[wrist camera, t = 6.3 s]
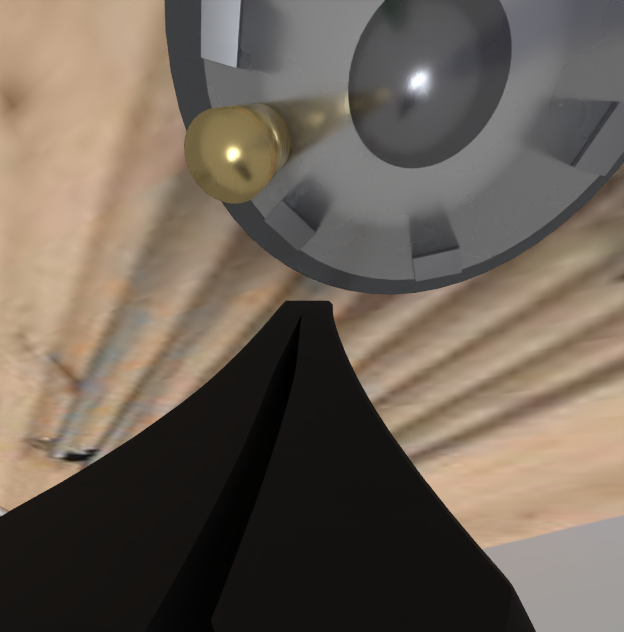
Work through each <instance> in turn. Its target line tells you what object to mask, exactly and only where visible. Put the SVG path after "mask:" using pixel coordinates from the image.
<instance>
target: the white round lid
mask: <svg viewBox="0 0 624 632" xmlns="http://www.w3.org/2000/svg"><path fill="white" fill-rule="evenodd" d="M7 512H9V511H8V510H6V509H4V508H2V507H0V516H2V515H4V514H5V513H7Z"/></svg>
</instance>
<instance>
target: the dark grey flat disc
mask: <svg viewBox="0 0 624 632" xmlns="http://www.w3.org/2000/svg"><path fill="white" fill-rule="evenodd" d="M165 25H166V37H167V45H168V52H169V60H170V68H171V74H172V79H173V83H174V87H175V92H176V96H177V101H178V105H179V109H180V113H181V116H182V119H183V122H184V125H185V128H186V131H187V130H188V128H189V126H190V124H191V122H192V121H193V120H194V119H195V117H196V116H198V115H199V114H200V113H202V112H204V111H206V110H208V109H211V108H212V107H211V103H210V99H209V95H208V89H207V81H206V74H205V66H204V59H203V58H201V0H165ZM623 162H624V152H623V153H622V155H621V156H620V157H619V159H618V160H617V161H616V162H615V164H614V165H613V166H612V168H611V169H610V170H609V172H608V173H607V174H606V176H603V175H599V177H598V178H597V179H596V180H595V181H594V182H593V183H592V184H591V185H590V186H589V187H588V188H587V189H586V190H585V191H584V192H583V193H582V194H581V195H580V196H579V197H578V198H577V199H576V200H575V201H574V202H572V203H571V204H570V205H569V206H568V207H567V208H566V209H564V210H563V211H562V212H561V213H560V214H559V215H557V216H556V217H555V218H554V219H553V220H551V221H550V222H549V223H547V224H546V225H545V226H543V227H542V228H540V229H539V230H538V231H536V232H535V233H534V234H532V235H531V236H529V237H528V238H526V239H524V240H523V241H521V242H519V243H518V244H516V245H514V246H513V247H511V248H509V249H508V250H506V251H504V252H502V253H500V254H498V255H496V256H494V257H492V258H489V259H487V260H485V261H483V262H481V263H478V264H475V265H473V266H470V267H467V268H464V269H462V273H457V274H452V275H447V276H442V277H437V278H432V279H427V280H422V281H417V282H416V281H415V279H407V280H388V279H375V278H369V277H364V276H359V275H354V274H351V273H348V272H344V271H341V270H338V269H335V268H333V267H331V266H328V265H326V264H324V263H322V262H320V261H318V260H316V259H314V258H312V257H311V256H309V255H308V254H306V253H304V252H303V251H301V250H299V251H297V250H296V249H295V248H294V247H293V246H292V245H291V244H290V243H289V242H287V241H286V240H285V239H284V238H283V237H282V236H281V235H280V234H279V233H277V232H276V231H275V230H274V229H273V228H272V227H271V226H270V225H269V224H267V223H266V222H265V221H264V220H265V218H264V217H263V215H262V214H261V213H260V211H259V210H258V209H257V208H256V206H255V205H254V204H253V202H252V201H251V200H249V201H246V202H243V203H236V204H234V203H226V202H222V201H221V202H222V203H223V204H224V206H225V207H226V208H227V210H228V211H229V213H230V214H231V215H232V217H233V218H234V219H235V220H236V221H237V223H238V224H239V225H240V226H241V227H242V228H243V229H244V230H245V231H246V232H247V234H248V235H249V236H250V237H251V238H252V239H253V240H254V241H256V242H257V243H258V244H259V245H260V246H261V247H262V248H264V249H265V250H266V251H267V252H268V253H269V254H271V255H272V256H274V257H275V258H277V259H278V260H279V261H281V262H282V263H284V264H285V265H287V266H288V267H290V268H292V269H294V270H296V271H297V272H299V273H301V274H303V275H305V276H307V277H309V278H312V279H314V280H317V281H319V282H322V283H324V284H327V285H330V286H334V287H338V288H341V289H345V290H349V291H356V292H363V293H370V294H404V293H416V292H421V291H427V290H433V289H438V288H442V287H445V286H449V285H452V284H456V283H459V282H462V281H465V280H468V279H470V278H473V277H475V276H478V275H480V274H483V273H485V272H488V271H490V270H491V269H493V268H495V267H497V266H499V265H501V264H503V263H505V262H507V261H509V260H511V259H513V258H514V257H516V256H518V255H519V254H521V253H522V252H524V251H526V250H527V249H529V248H530V247H532V246H534V245H535V244H537V243H538V242H539V241H541V240H542V239H543V238H545V237H546V236H547V235H549V234H550V233H551V232H553V231H554V230H555V229H557V228H558V227H559V226H561V225H562V224H563V223H564V222H565V221H567V220H568V219H569V218H570V217H571V216H572V215H573V214H574V213H575V212H577V211H578V210H579V209H580V208H581V207H582V206H583V205H584V204H585V203H587V202H588V201H589V200H590V199H591V198H592V197H593V196H594V194H595V193H596V192H597V191H598V190H599V189H600V188H601V187H602V186H603V185H604V184H605V183H606V182H607V181H608V180H609V178H610V177H611V176H612V175H613V174H614V173H615V172H616V171H617V170H618V168H619V167H620V166H621V165H622V163H623Z"/></svg>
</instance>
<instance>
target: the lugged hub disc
mask: <svg viewBox="0 0 624 632" xmlns="http://www.w3.org/2000/svg"><path fill="white" fill-rule="evenodd" d="M201 58H203V59H204V66H205V74H206V81H207V89H208V95H209V99H210V103H211V107H212V108H211V109H208V110H206V111H204V112H202V113H200V114H199V115H198V116H196V117H195V119H194V120H193V121H192V122H191V124H190V126H189V128H188V130H187V133H186V136H185V144H184V150H185V158H186V162H187V165H188V168H189V170H190V173H191V174H192V176H193V178H194V179H195V181H196V182H197V184H198V185H199V186H200V187H201V188H202V189H203V190H204V191H205V192H206V193H207V194H209V195H210V196H212V197H213V198H215V199H217V200H219V201H222V202H226V203H234V204H236V203H243V202H246V201H249V200H251V201H252V202H253V204H254V205H255V206H256V208H257V209H258V210H259V211H260V213H261V214H262V215H263V217H264V218H265V220H264V221H265V222H266V223H267V224H269V225H270V226H271V227H272V228H273V229H274V230H275V231H276V232H277V233H279V234H280V235H281V236H282V237H283V238H284V239H285V240H286V241H287V242H289V243H290V244H291V245H292V246H293V247H294V248H295V249H296V250H297V251H299V250H301V251H303V252H304V253H306V254H308V255H309V256H311V257H312V258H314V259H316V260H318V261H320V262H322V263H324V264H326V265H328V266H331V267H333V268H335V269H338V270H341V271H344V272H348V273H351V274H354V275H359V276H364V277H369V278H375V279H388V280H407V279H415V281H416V282H417V281H422V280H427V279H432V278H437V277H442V276H447V275H452V274H457V273H462V269H464V268H467V267H470V266H473V265H475V264H478V263H481V262H483V261H485V260H487V259H489V258H492V257H494V256H496V255H498V254H500V253H502V252H504V251H506V250H508V249H509V248H511V247H513V246H514V245H516V244H518V243H519V242H521V241H523V240H524V239H526V238H528V237H529V236H531V235H532V234H534V233H535V232H536V231H538V230H539V229H540V228H542V227H543V226H545V225H546V224H547V223H549V222H550V221H551V220H553V219H554V218H555V217H556V216H557V215H559V214H560V213H561V212H562V211H563V210H564V209H566V208H567V207H568V206H569V205H570V204H571V203H572V202H574V201H575V200H576V199H577V198H578V197H579V196H580V195H581V194H582V193H583V192H584V191H585V190H586V189H587V188H588V187H589V186H590V185H591V184H592V183H593V182H594V181H595V180H596V179H597V178H598V177H599V175H603V176H606V174H607V173H608V172H609V170H610V169H611V168H612V166H613V165H614V164H615V162H616V161H617V160H618V159H619V157H620V156H621V155H622V153H623V152H624V0H201Z"/></svg>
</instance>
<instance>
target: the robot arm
mask: <svg viewBox="0 0 624 632" xmlns="http://www.w3.org/2000/svg"><path fill="white" fill-rule="evenodd" d="M0 632H536V631H535V629H534V627H533V625H532V623H531V621H530V619H529V617H528V615H527V613H526V611H525V609H524V607H523V605H522V603H521V601H520V599H519V597H518V595H517V593H516V591H515V589H514V588H513V586H512V584H511V583H510V582H509V580H508V579H507V578H506V577H505V576H504V574H503V573H502V572H501V571H500V570H499V568H498V567H497V566H496V565H495V564H494V563H493V562H492V561H491V559H490V558H489V557H488V556H487V555H486V554H485V552H484V551H483V550H482V549H481V548H480V547H479V545H478V544H477V543H476V542H475V541H474V540H473V538H472V537H471V536H470V535H469V534H468V532H467V531H466V530H465V529H464V528H463V526H462V525H461V524H460V523H459V522H458V521H457V519H456V518H455V517H454V516H453V515H452V513H451V512H450V511H449V510H448V508H447V507H446V506H445V505H444V503H443V502H442V501H441V500H440V498H439V497H438V496H437V495H436V493H435V492H434V491H433V490H432V488H431V487H430V486H429V485H428V483H427V482H426V481H425V479H424V478H423V477H422V476H421V474H420V473H419V472H418V470H417V469H416V467H415V466H414V465H413V463H412V462H411V461H410V459H409V458H408V456H407V455H406V454H405V452H404V451H403V449H402V448H401V447H400V445H399V444H398V443H397V441H396V440H395V438H394V437H393V436H392V434H391V433H390V431H389V430H388V428H387V427H386V425H385V424H384V422H383V421H382V419H381V417H380V416H379V414H378V413H377V411H376V410H375V408H374V406H373V405H372V403H371V401H370V400H369V398H368V396H367V395H366V393H365V391H364V389H363V387H362V386H361V384H360V382H359V380H358V378H357V376H356V374H355V372H354V370H353V368H352V366H351V364H350V362H349V360H348V357H347V355H346V353H345V350H344V348H343V345H342V343H341V340H340V338H339V335H338V332H337V329H336V325H335V322H334V317H333V304H332V303H331V302H329V301H285V302H284V303H283V304H282V305H281V306H280V308H279V309H278V310H277V311H276V312H275V313H274V315H273V316H272V317H271V318H270V319H269V321H268V322H267V323H266V324H265V325H264V326H263V327H262V329H261V330H260V331H259V332H258V333H257V334H256V335H255V336H254V337H253V338H252V339H251V340H250V342H249V343H248V344H247V345H246V346H245V347H244V348H243V349H242V350H241V351H240V352H239V353H238V354H237V355H236V356H235V357H234V358H233V359H232V360H231V361H230V362H229V363H228V364H227V365H226V366H225V367H224V368H222V369H221V370H220V371H219V372H218V373H217V374H216V375H215V376H214V377H213V378H212V379H210V380H209V381H208V382H207V383H206V384H205V385H203V386H202V387H201V388H200V389H199V390H197V391H196V392H195V393H194V394H192V395H191V396H190V397H189V398H187V399H186V400H185V401H184V402H182V403H181V404H180V405H178V406H177V407H176V408H174V409H173V410H171V411H170V412H169V413H167V414H166V415H164V416H163V417H162V418H160V419H159V420H157V421H156V422H155V423H153V424H152V425H150V426H149V427H148V428H146V429H145V430H143V431H142V432H141V433H139V434H138V435H136V436H135V437H133V438H132V439H130V440H129V441H127V442H126V443H124V444H123V445H121V446H119V447H118V448H116V449H115V450H113V451H112V452H110V453H109V454H107V455H105V456H104V457H102V458H101V459H99V460H97V461H96V462H94V463H92V464H91V465H89V466H88V467H86V468H84V469H83V470H81V471H79V472H78V473H76V474H74V475H73V476H71V477H69V478H68V479H66V480H64V481H63V482H61V483H59V484H57V485H56V486H54V487H52V488H50V489H48V490H47V491H45V492H43V493H41V494H39V495H38V496H36V497H34V498H32V499H30V500H29V501H27V502H25V503H23V504H22V505H20V506H18V507H16V508H14V509H13V510H11V511H9V512H7V513H5V514H4V515H2V516H0Z"/></svg>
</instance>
